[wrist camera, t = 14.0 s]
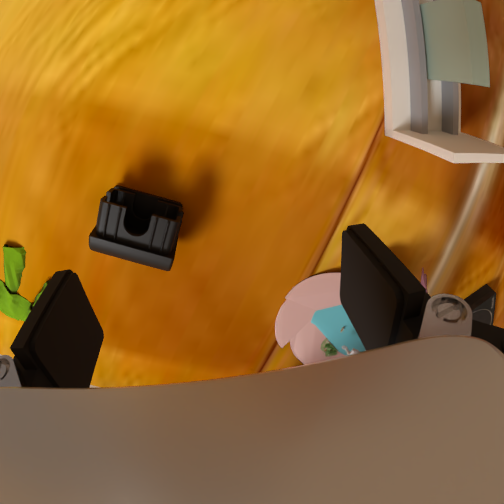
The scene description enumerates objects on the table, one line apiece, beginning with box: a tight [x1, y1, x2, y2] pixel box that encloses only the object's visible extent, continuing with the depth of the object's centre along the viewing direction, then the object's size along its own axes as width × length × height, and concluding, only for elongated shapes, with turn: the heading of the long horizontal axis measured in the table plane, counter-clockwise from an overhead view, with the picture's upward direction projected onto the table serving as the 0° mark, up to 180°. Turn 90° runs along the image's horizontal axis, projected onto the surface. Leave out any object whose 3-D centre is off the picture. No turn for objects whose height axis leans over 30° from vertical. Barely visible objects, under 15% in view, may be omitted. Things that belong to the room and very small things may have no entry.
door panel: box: [419, 0, 490, 87], centre depth 25 cm, size 10×3×10 cm, turn 7°
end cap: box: [89, 186, 184, 271], centre depth 36 cm, size 10×7×7 cm
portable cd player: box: [464, 284, 496, 325], centre depth 57 cm, size 16×17×4 cm
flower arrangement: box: [275, 267, 427, 365], centre depth 39 cm, size 35×24×28 cm
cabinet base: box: [375, 0, 504, 163], centre depth 25 cm, size 26×12×14 cm, turn 6°
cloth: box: [0, 244, 50, 321], centre depth 41 cm, size 20×22×2 cm
